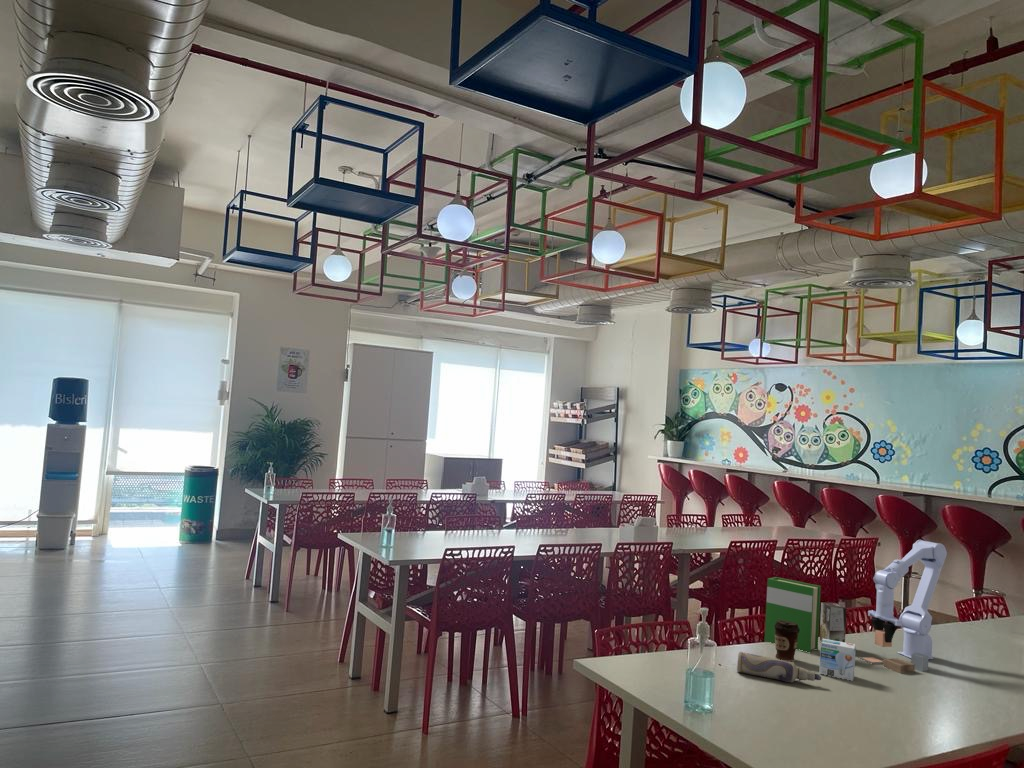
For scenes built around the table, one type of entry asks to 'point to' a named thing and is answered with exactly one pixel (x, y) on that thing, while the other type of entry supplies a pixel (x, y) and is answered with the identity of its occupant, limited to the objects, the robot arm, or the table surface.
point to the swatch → (872, 660)
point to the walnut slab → (899, 665)
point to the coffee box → (832, 622)
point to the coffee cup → (786, 639)
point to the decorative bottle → (773, 668)
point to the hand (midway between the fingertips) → (883, 640)
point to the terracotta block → (881, 639)
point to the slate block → (920, 661)
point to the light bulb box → (837, 659)
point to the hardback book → (793, 610)
